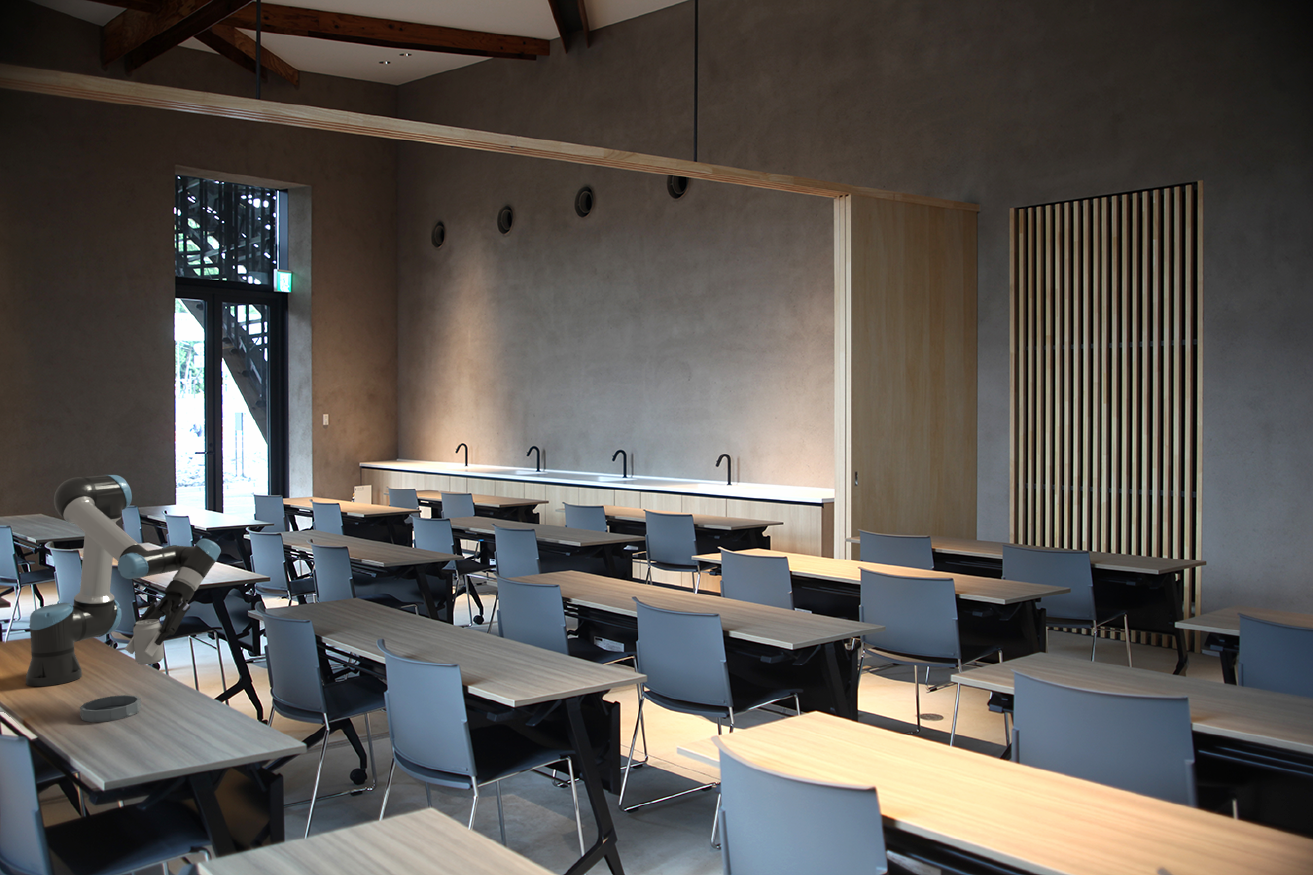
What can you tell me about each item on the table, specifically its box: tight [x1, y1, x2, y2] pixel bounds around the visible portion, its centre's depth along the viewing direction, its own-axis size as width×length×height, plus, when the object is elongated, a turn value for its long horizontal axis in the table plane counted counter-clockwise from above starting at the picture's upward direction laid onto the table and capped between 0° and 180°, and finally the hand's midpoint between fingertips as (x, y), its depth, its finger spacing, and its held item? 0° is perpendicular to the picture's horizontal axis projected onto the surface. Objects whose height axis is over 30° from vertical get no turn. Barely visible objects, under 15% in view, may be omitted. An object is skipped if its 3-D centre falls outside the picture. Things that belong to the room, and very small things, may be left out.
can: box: [132, 619, 165, 666], centre depth 286 cm, size 8×8×12 cm
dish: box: [79, 694, 142, 723], centre depth 276 cm, size 14×14×3 cm
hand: (138, 652), depth 283 cm, fingers closed on can, 7 cm apart
